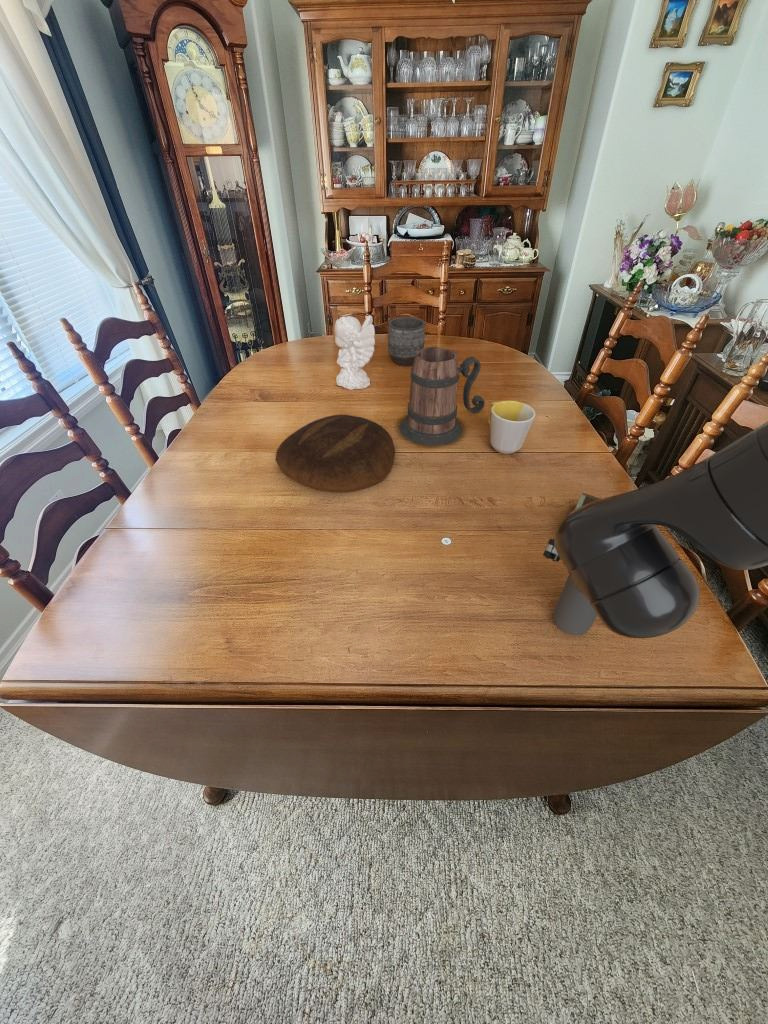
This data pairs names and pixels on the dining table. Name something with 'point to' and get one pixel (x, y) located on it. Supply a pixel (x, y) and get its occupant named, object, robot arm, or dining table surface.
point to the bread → (337, 454)
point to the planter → (405, 339)
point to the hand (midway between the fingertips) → (595, 568)
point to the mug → (509, 425)
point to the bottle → (573, 610)
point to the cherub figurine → (354, 351)
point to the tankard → (438, 396)
